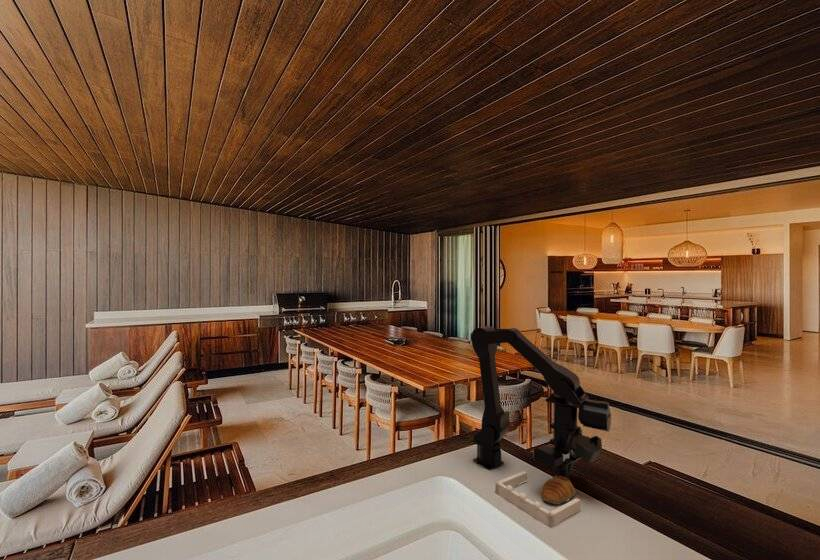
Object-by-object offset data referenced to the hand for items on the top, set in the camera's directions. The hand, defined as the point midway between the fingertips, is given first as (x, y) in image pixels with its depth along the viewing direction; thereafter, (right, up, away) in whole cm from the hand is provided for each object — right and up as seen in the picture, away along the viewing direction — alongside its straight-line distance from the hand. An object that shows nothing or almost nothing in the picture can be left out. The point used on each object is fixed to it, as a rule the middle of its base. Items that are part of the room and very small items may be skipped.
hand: (564, 481), depth 98 cm
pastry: (-3, -2, -4) cm, 5 cm away
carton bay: (-9, -1, -6) cm, 11 cm away
